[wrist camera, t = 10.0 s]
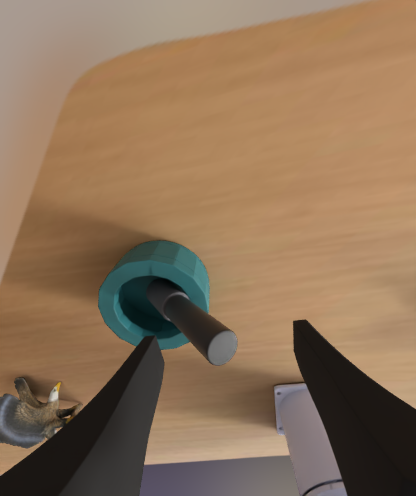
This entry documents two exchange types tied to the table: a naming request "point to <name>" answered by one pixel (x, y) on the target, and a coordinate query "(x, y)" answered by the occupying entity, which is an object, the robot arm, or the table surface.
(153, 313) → the teal hollow cylinder
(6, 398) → the eagle figurine
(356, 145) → the table surface
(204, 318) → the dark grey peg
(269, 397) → the table surface
